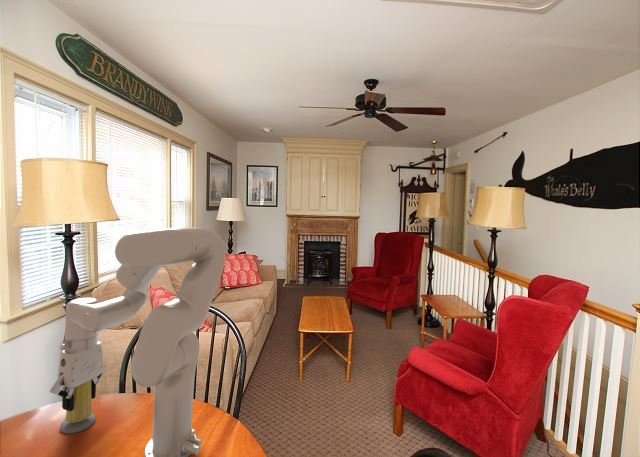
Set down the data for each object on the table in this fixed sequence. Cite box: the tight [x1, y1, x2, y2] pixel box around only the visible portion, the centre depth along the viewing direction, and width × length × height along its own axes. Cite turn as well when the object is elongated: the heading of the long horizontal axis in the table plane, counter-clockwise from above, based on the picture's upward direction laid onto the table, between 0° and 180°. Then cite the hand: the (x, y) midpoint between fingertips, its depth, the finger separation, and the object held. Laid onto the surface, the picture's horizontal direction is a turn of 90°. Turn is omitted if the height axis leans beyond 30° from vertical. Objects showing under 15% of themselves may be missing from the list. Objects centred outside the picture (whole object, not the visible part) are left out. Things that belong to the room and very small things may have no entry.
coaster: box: [59, 412, 96, 435], centre depth 89 cm, size 8×8×1 cm
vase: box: [64, 379, 93, 423], centre depth 88 cm, size 6×6×14 cm
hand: (79, 402), depth 88 cm, fingers closed on vase, 5 cm apart
